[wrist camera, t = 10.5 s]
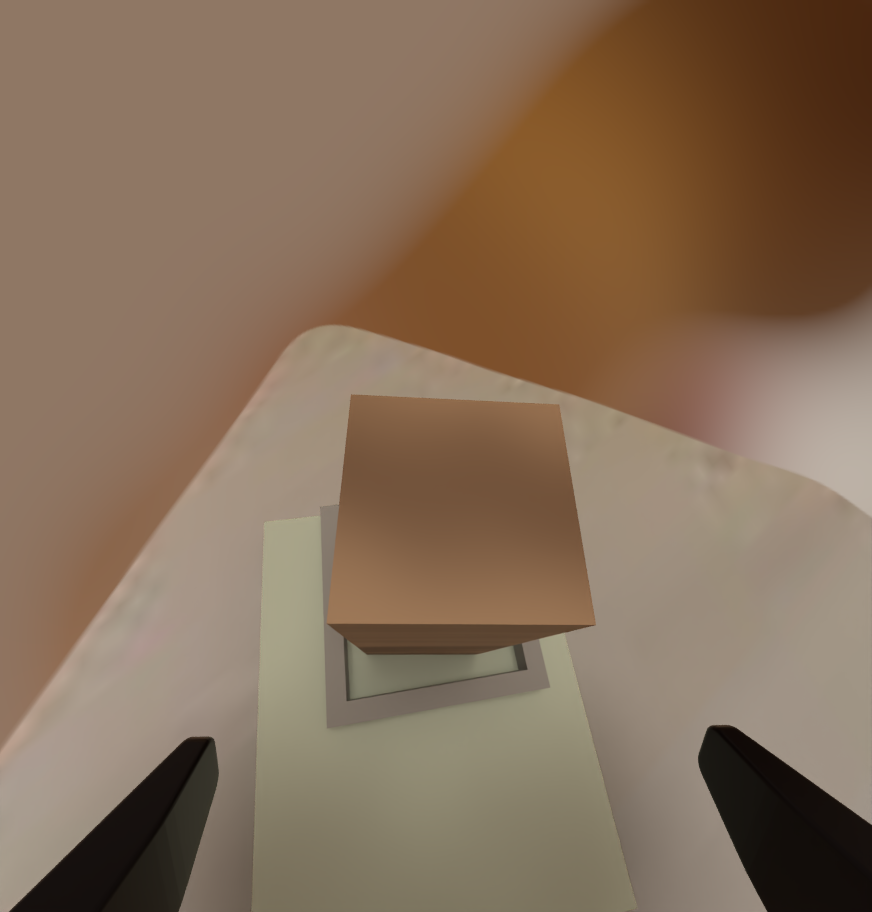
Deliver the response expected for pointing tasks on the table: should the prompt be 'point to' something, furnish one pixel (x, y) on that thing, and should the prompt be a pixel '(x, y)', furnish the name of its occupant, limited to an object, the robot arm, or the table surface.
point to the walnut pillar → (455, 528)
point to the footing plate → (418, 766)
